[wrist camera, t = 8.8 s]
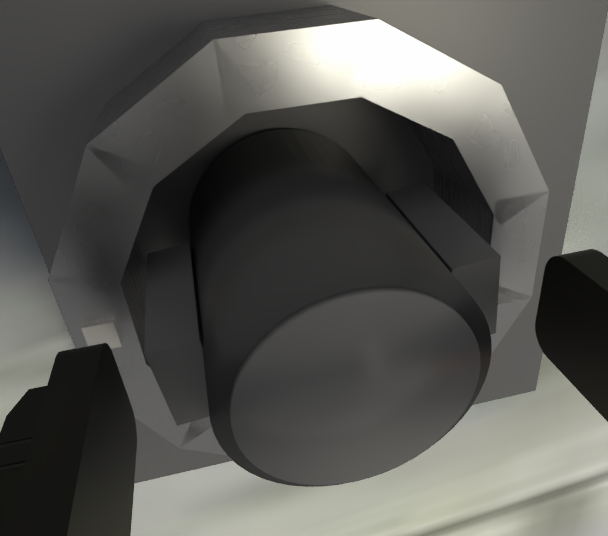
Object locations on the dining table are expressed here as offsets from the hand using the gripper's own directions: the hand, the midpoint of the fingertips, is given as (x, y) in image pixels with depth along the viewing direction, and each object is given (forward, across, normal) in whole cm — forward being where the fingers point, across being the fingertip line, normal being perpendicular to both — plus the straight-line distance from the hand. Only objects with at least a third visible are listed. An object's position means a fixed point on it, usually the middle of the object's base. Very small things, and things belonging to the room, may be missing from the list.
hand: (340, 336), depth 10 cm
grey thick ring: (+5, 0, 0) cm, 5 cm away
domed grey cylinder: (+4, 0, 0) cm, 5 cm away
